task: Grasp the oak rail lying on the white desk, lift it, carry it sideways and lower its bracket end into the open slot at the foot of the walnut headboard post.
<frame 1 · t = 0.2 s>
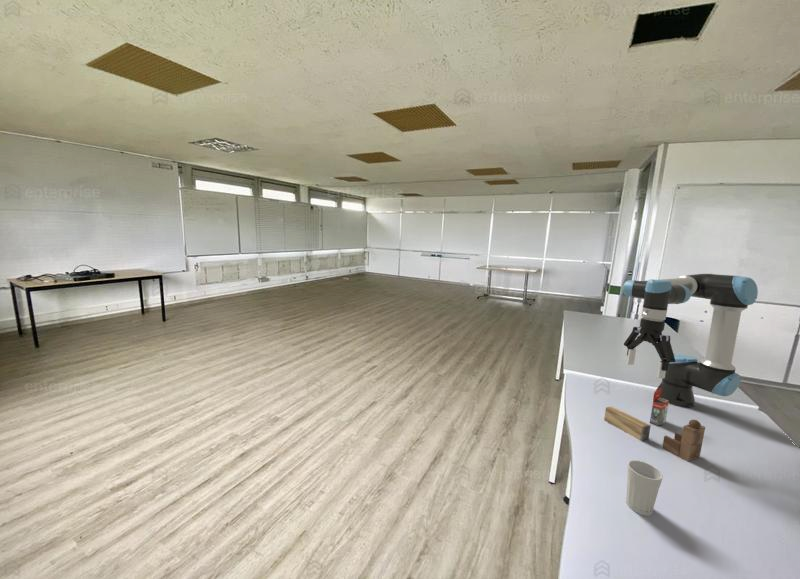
hand: (644, 370, 127), 27 cm above the table, fingers open, 13 cm apart
rail: (624, 428, 133), on the table
cup: (638, 507, 93), on the table
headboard: (676, 449, 120), on the table
ink box: (657, 422, 139), on the table
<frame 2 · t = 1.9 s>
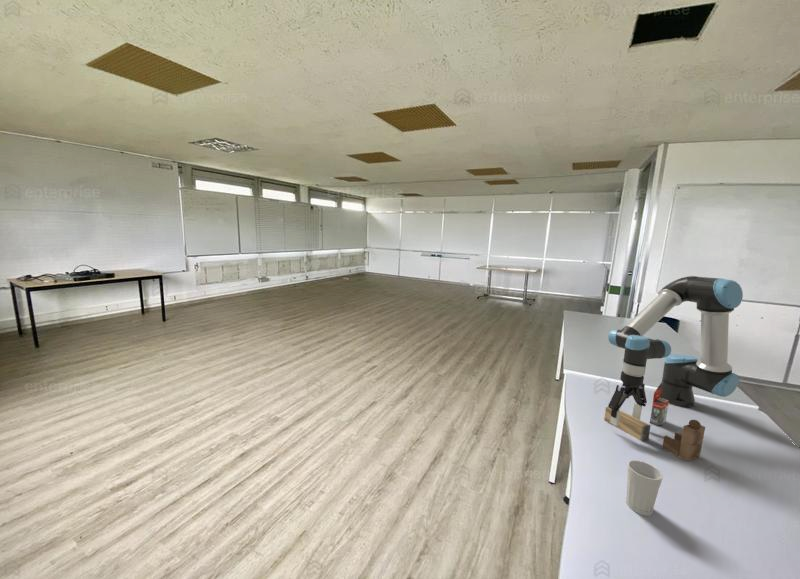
hand: (624, 421, 132), 3 cm above the table, fingers open, 13 cm apart
nothing on the table moved.
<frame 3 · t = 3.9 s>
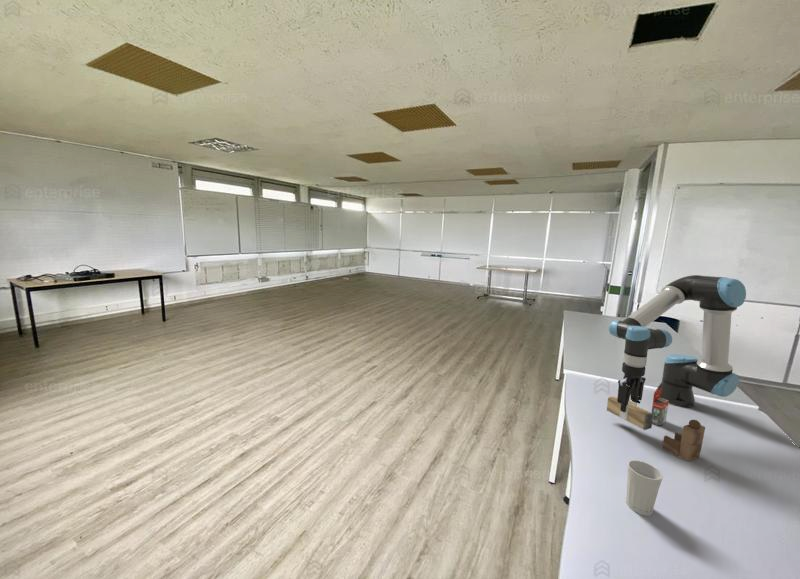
hand: (627, 417, 132), 5 cm above the table, fingers closed on rail, 4 cm apart
rail: (627, 418, 132), point 5 cm above the table, touching gripper
everything else where it was.
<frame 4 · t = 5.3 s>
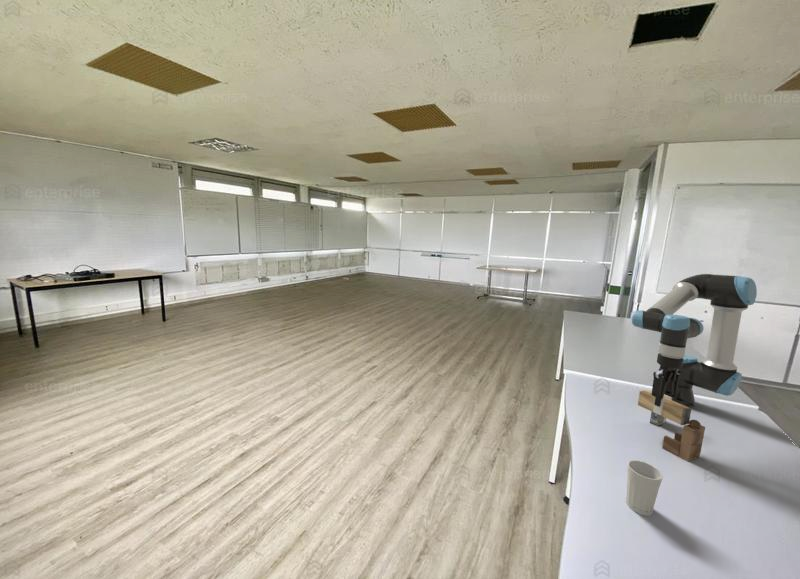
hand: (661, 412, 124), 12 cm above the table, fingers closed on rail, 4 cm apart
rail: (661, 413, 124), point 11 cm above the table, touching gripper
everything else where it was.
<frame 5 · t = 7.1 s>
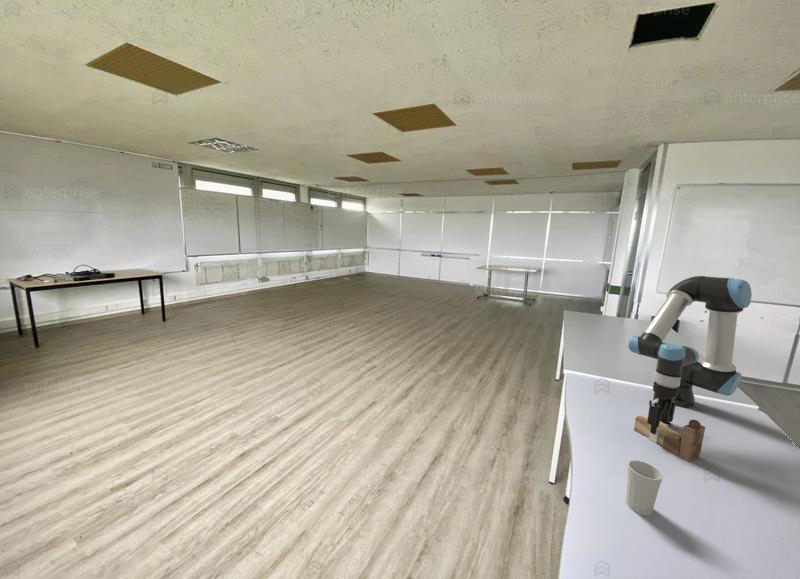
hand: (656, 439, 126), 0 cm above the table, fingers closed on rail, 4 cm apart
rail: (656, 439, 126), on the table, touching gripper
everything else where it was.
when the fingers open (0 cm above the table, at t = 7.5 s): rail stays where it is, on the table.
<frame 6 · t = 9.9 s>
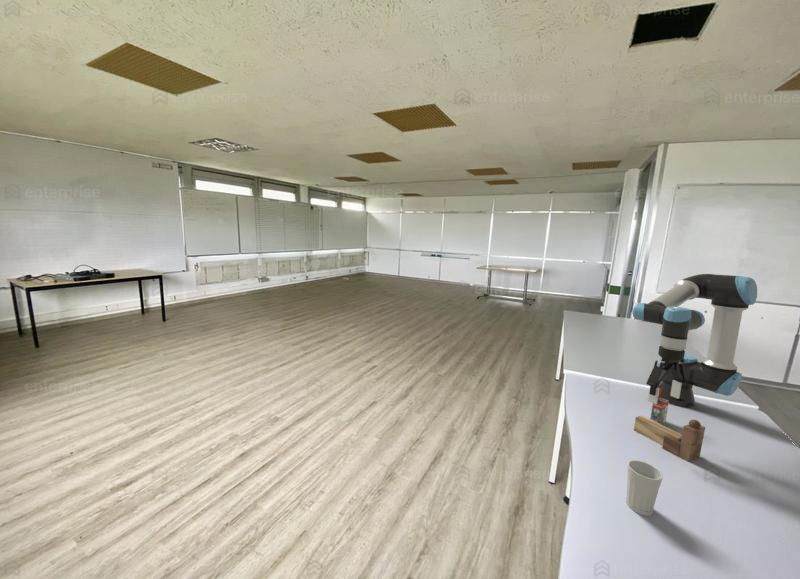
hand: (663, 399, 123), 17 cm above the table, fingers open, 13 cm apart
rail: (656, 439, 126), on the table
everything else where it was.
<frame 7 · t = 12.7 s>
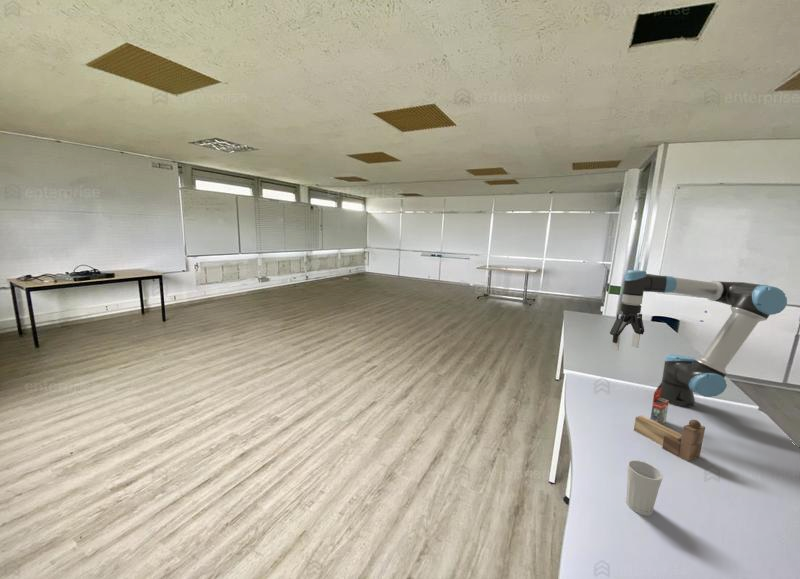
hand: (625, 348, 148), 29 cm above the table, fingers open, 13 cm apart
nothing on the table moved.
at the end: rail 0.6 cm from the target spot on the table beside the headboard, on the table; rail tilted 0°; the gripper is holding nothing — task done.
